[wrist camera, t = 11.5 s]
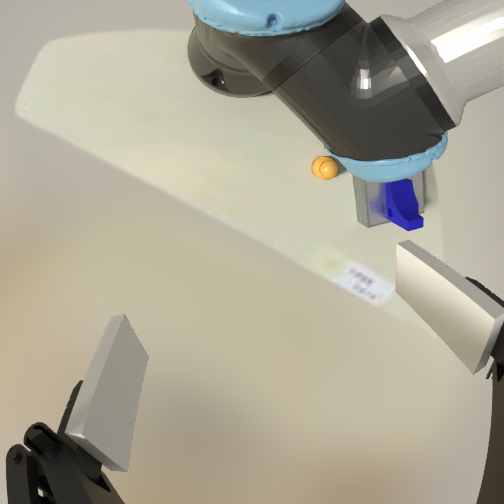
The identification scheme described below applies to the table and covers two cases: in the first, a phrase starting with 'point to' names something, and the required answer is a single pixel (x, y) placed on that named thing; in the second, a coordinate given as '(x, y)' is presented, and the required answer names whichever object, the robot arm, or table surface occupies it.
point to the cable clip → (403, 204)
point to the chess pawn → (324, 168)
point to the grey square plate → (380, 199)
